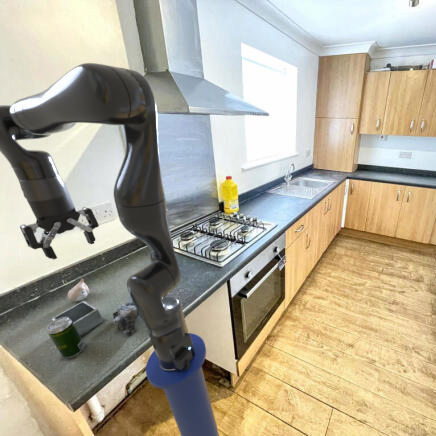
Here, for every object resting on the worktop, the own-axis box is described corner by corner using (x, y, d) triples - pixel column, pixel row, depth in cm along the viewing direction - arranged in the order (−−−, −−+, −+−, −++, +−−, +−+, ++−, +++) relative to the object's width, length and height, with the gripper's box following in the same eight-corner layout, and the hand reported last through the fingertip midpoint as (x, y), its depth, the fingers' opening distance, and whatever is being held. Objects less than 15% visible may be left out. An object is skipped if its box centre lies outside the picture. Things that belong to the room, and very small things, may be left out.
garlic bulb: (92, 298, 94) (84, 283, 90) (71, 307, 90) (62, 291, 86) (90, 290, 98) (83, 275, 95) (70, 298, 94) (62, 282, 91)
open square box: (103, 321, 83) (97, 308, 81) (72, 341, 76) (65, 328, 73) (89, 312, 87) (83, 300, 85) (58, 331, 80) (51, 318, 77)
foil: (161, 296, 90) (128, 305, 75) (154, 325, 89) (119, 339, 74) (136, 290, 92) (99, 297, 78) (129, 318, 91) (90, 331, 76)
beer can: (87, 340, 76) (73, 313, 71) (82, 354, 72) (66, 327, 67) (66, 347, 74) (50, 320, 69) (59, 362, 70) (42, 334, 65)
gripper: (13, 206, 50) (46, 268, 57) (89, 188, 62) (109, 241, 68) (-1, 201, 53) (33, 260, 60) (74, 185, 65) (95, 236, 71)
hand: (73, 250), depth 64 cm, fingers open, 8 cm apart
